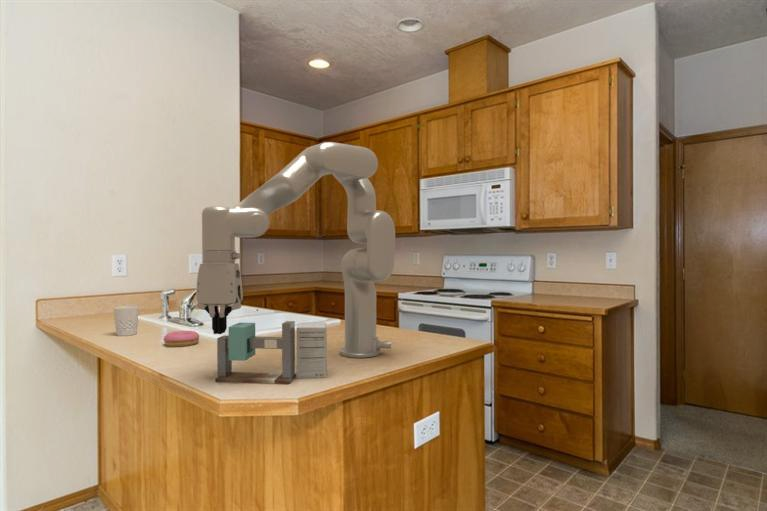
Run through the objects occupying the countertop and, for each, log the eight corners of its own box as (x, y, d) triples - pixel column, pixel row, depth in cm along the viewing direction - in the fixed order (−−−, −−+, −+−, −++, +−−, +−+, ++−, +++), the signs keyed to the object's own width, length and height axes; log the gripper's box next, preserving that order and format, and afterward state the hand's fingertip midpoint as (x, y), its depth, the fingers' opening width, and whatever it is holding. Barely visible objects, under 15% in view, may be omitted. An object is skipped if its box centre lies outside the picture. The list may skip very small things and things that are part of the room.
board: (296, 376, 116) (296, 373, 116) (288, 384, 110) (288, 380, 110) (226, 375, 118) (226, 371, 118) (215, 381, 112) (215, 378, 112)
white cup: (143, 333, 174) (142, 306, 174) (121, 337, 167) (121, 309, 167) (131, 331, 178) (130, 305, 178) (109, 335, 172) (109, 307, 171)
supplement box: (298, 370, 122) (298, 322, 122) (327, 370, 123) (327, 321, 123) (296, 378, 115) (295, 327, 115) (326, 378, 116) (326, 326, 115)
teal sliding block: (255, 354, 118) (255, 322, 117) (245, 360, 111) (244, 327, 111) (239, 354, 118) (239, 322, 118) (228, 360, 111) (228, 327, 111)
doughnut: (169, 349, 148) (169, 336, 148) (159, 344, 156) (158, 331, 156) (204, 344, 155) (204, 332, 155) (192, 339, 164) (192, 327, 164)
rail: (294, 378, 115) (294, 321, 115) (290, 382, 111) (290, 323, 111) (224, 376, 117) (223, 320, 117) (217, 380, 113) (217, 322, 113)
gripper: (254, 257, 117) (254, 330, 118) (197, 257, 119) (197, 329, 119) (242, 258, 110) (242, 336, 110) (181, 258, 112) (182, 335, 112)
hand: (219, 332), depth 115 cm, fingers closed
